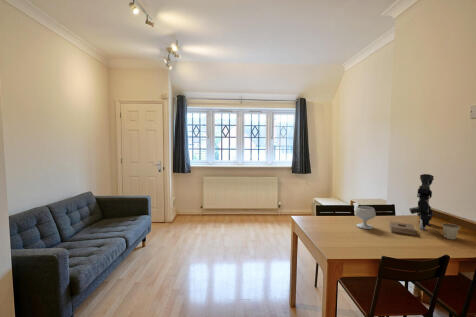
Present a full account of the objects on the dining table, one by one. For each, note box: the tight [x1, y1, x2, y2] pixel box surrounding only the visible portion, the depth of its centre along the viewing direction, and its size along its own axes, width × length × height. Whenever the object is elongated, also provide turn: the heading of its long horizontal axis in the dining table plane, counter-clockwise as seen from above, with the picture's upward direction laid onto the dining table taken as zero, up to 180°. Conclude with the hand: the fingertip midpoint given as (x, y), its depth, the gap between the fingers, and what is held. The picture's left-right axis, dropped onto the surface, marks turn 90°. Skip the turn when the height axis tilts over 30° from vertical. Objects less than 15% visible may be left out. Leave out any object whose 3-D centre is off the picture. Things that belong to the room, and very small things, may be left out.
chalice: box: [354, 205, 377, 230], centre depth 186 cm, size 14×14×15 cm
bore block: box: [389, 220, 417, 237], centre depth 177 cm, size 14×14×4 cm
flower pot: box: [441, 222, 461, 240], centre depth 163 cm, size 9×9×9 cm
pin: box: [419, 218, 427, 231], centre depth 179 cm, size 3×3×9 cm
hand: (422, 225), depth 179 cm, fingers open, 7 cm apart
